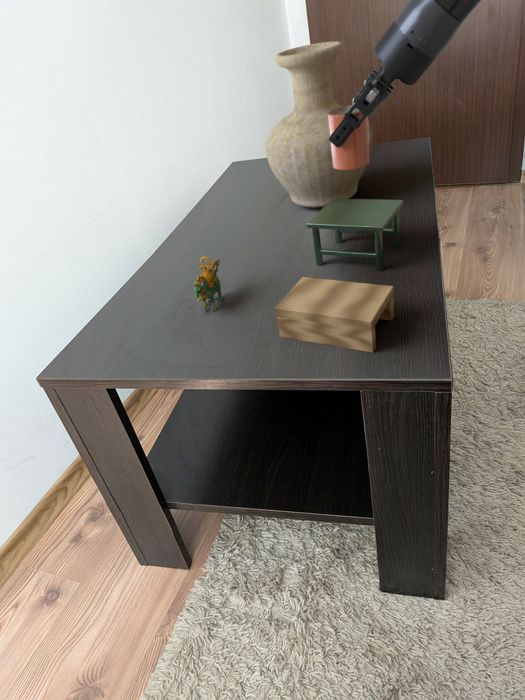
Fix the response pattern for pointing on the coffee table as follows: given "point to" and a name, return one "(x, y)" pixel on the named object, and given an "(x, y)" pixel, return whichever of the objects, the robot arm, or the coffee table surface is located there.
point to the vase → (310, 131)
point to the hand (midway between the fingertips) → (338, 136)
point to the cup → (350, 142)
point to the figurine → (208, 283)
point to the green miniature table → (357, 225)
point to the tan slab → (335, 312)
